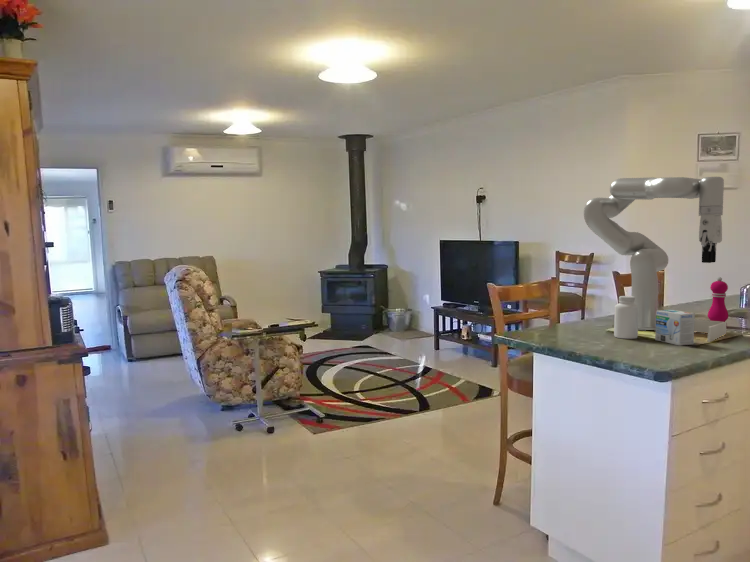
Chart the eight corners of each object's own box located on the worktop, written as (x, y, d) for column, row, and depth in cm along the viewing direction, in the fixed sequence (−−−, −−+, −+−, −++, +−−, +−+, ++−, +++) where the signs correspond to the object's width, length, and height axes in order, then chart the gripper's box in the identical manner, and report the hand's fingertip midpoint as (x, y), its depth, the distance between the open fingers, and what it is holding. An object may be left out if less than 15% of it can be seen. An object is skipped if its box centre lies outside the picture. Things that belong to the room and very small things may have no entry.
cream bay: (709, 341, 201) (710, 327, 201) (660, 335, 213) (660, 322, 213) (725, 335, 212) (726, 322, 212) (678, 330, 225) (678, 317, 224)
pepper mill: (703, 325, 234) (705, 276, 232) (714, 324, 237) (716, 276, 235) (720, 328, 227) (722, 278, 226) (732, 327, 230) (734, 277, 229)
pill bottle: (635, 335, 213) (636, 295, 212) (639, 339, 206) (640, 298, 204) (612, 335, 216) (613, 295, 214) (615, 338, 208) (616, 297, 207)
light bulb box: (654, 340, 205) (655, 310, 204) (668, 338, 207) (669, 309, 206) (679, 345, 195) (681, 314, 194) (694, 344, 197) (695, 313, 196)
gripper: (714, 210, 200) (712, 263, 201) (729, 211, 211) (727, 261, 212) (691, 211, 205) (689, 263, 207) (707, 212, 216) (705, 261, 218)
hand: (708, 261), depth 210 cm, fingers open, 3 cm apart
